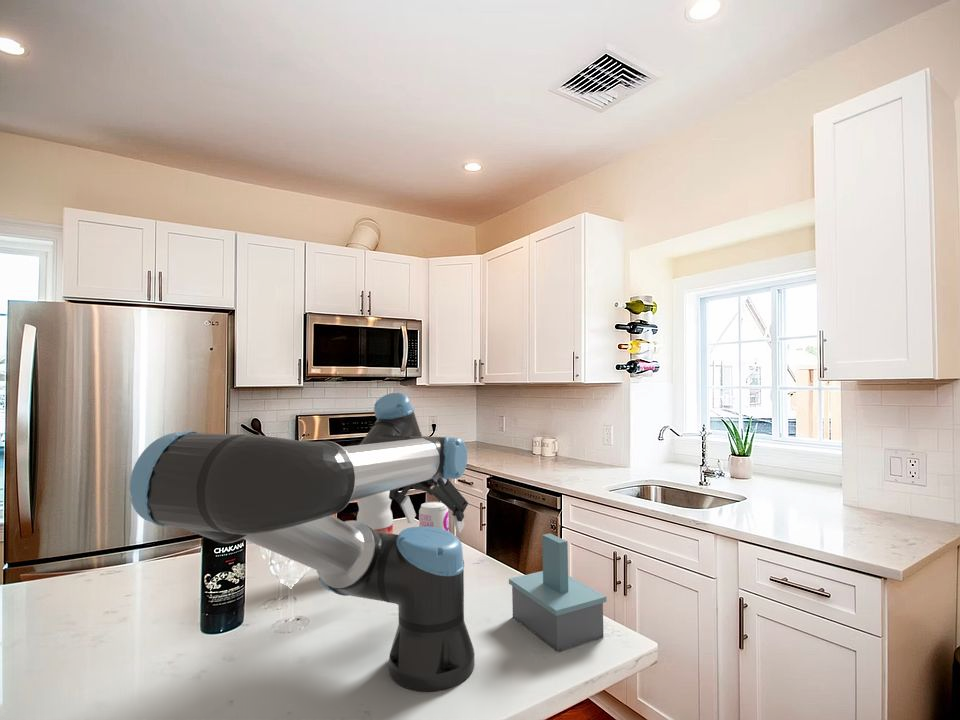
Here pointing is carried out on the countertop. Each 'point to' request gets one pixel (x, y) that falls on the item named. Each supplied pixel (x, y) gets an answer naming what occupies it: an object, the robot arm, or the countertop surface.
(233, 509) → the robot arm
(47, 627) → the countertop surface
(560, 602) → the lid
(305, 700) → the countertop surface
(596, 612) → the parts tub
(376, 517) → the fruit juice
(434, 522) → the supplement can
